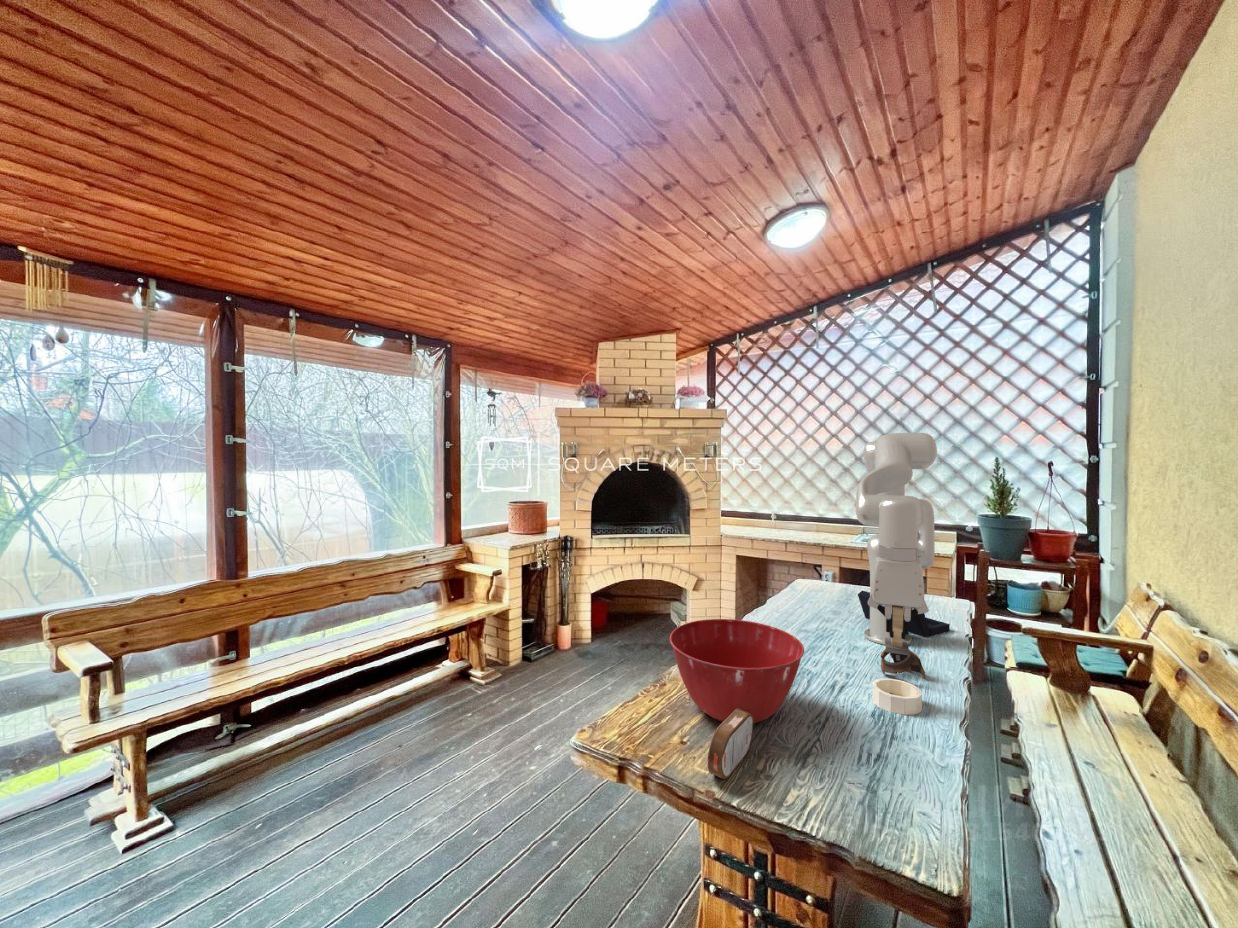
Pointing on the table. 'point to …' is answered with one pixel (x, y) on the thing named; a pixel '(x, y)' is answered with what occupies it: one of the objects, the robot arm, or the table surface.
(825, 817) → the table surface
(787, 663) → the mixing bowl
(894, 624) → the wall mounted peg
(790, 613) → the table surface
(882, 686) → the cream faceted bowl
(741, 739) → the tin
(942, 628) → the black laptop
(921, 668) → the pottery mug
